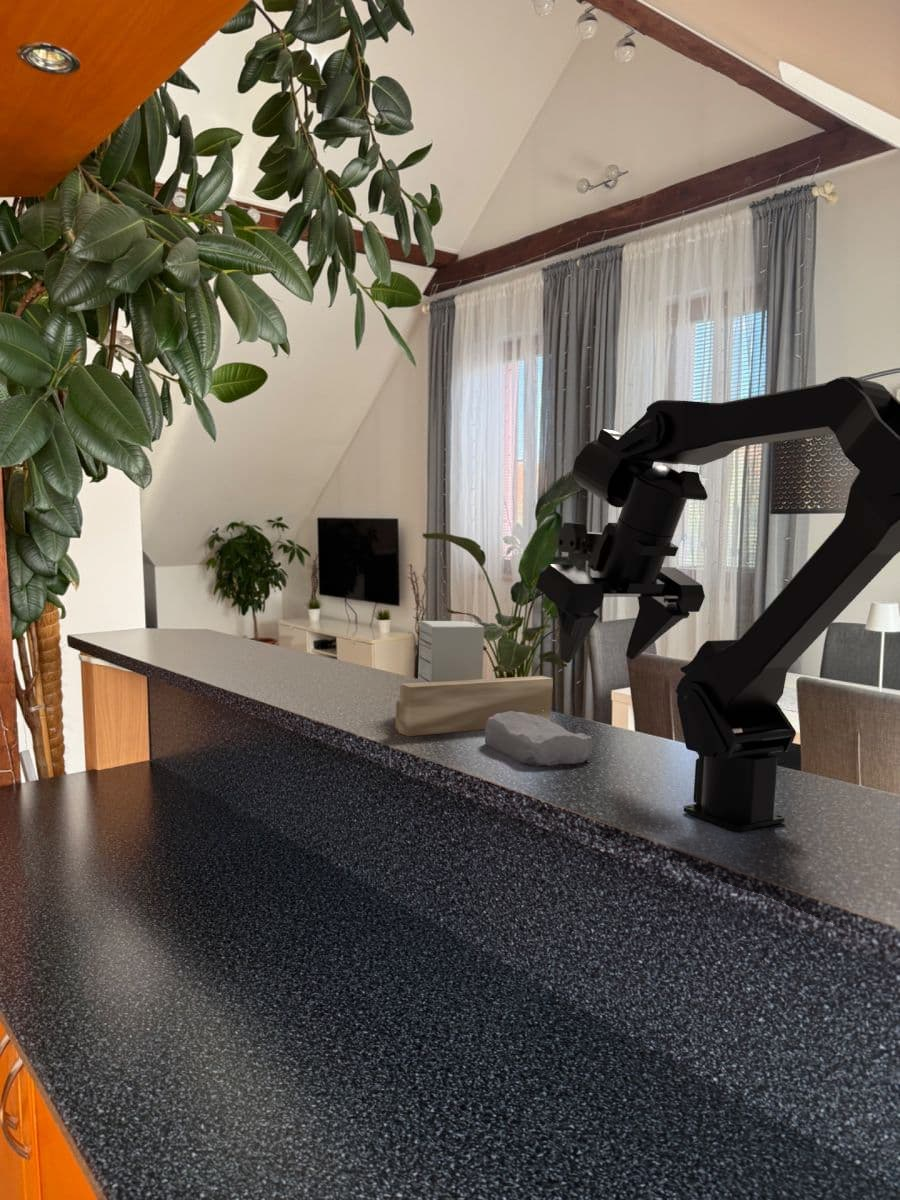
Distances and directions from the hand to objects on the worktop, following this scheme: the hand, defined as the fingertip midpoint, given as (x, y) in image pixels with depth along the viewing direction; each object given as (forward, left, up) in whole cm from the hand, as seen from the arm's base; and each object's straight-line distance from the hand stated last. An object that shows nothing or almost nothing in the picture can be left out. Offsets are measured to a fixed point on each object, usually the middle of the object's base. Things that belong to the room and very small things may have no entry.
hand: (598, 659), depth 98 cm
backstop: (+22, 0, -12) cm, 25 cm away
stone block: (+8, +1, -12) cm, 15 cm away
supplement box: (+31, -1, -12) cm, 33 cm away
